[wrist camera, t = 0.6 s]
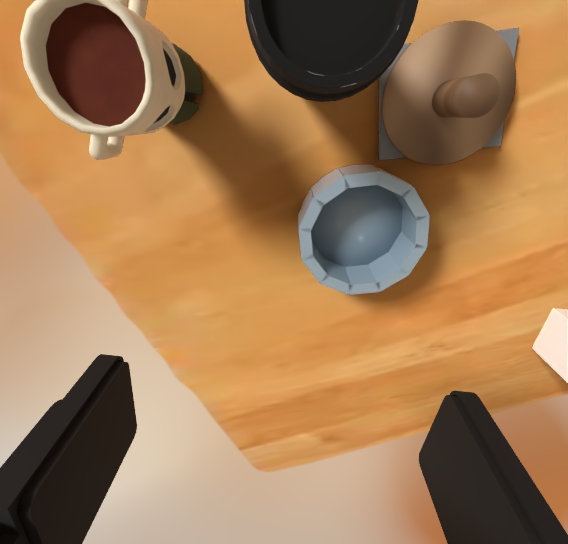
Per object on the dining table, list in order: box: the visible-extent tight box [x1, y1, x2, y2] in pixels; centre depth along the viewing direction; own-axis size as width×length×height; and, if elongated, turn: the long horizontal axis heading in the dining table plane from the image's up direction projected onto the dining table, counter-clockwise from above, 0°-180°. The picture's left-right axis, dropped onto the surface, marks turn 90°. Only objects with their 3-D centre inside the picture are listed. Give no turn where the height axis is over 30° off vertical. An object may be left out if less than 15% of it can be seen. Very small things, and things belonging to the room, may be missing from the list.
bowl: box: [298, 164, 430, 295], centre depth 32 cm, size 12×12×5 cm
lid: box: [382, 21, 516, 165], centre depth 26 cm, size 11×11×6 cm
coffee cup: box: [244, 0, 418, 102], centre depth 21 cm, size 8×8×15 cm
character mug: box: [20, 0, 203, 160], centre depth 23 cm, size 11×7×13 cm, turn 158°
